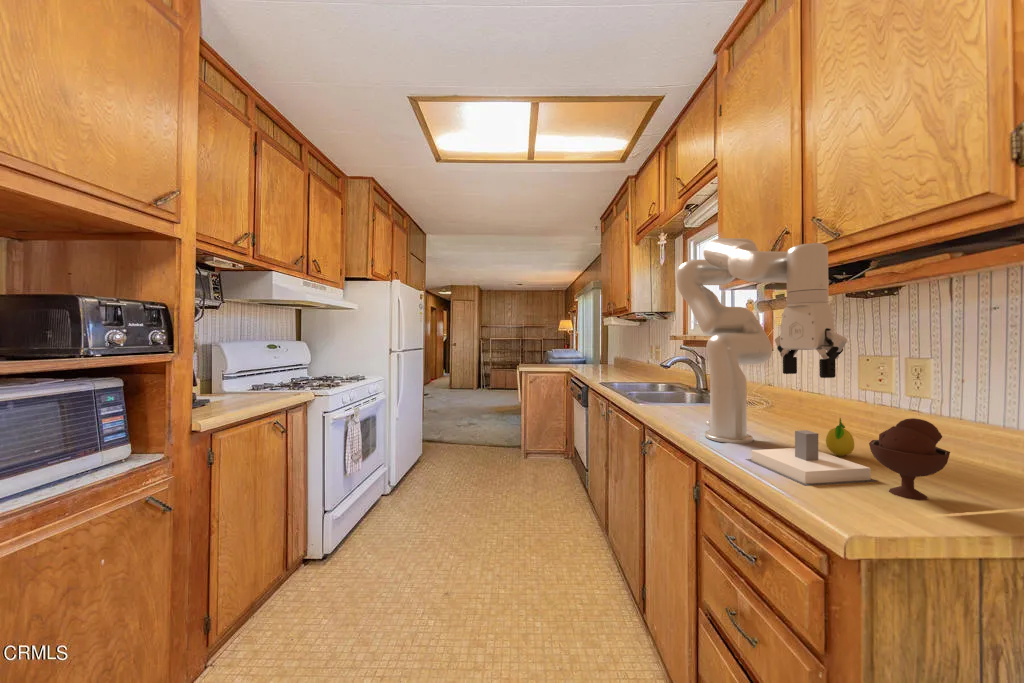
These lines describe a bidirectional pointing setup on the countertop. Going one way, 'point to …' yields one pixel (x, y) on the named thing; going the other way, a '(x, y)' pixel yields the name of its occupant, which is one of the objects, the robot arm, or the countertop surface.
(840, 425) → the lemon
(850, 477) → the lid
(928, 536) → the countertop surface
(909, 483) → the ice cream bowl
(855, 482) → the mat
